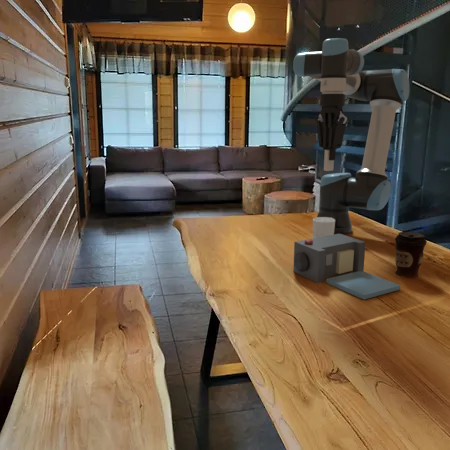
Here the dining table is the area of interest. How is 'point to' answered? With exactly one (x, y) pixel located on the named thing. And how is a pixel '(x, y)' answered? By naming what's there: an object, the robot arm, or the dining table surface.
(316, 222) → the white cup
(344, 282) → the side door
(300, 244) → the grey notched block
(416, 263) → the coffee cup
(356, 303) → the dining table surface
